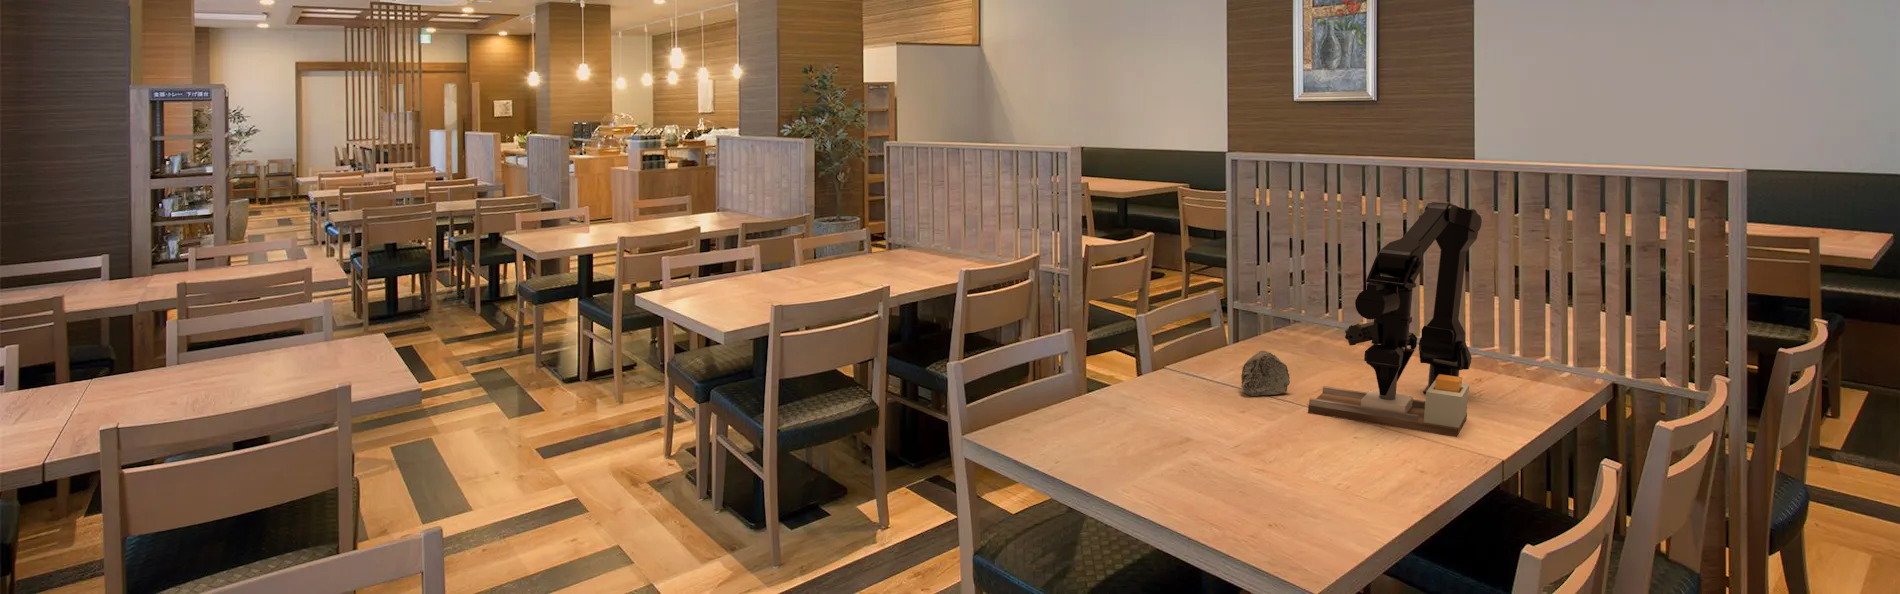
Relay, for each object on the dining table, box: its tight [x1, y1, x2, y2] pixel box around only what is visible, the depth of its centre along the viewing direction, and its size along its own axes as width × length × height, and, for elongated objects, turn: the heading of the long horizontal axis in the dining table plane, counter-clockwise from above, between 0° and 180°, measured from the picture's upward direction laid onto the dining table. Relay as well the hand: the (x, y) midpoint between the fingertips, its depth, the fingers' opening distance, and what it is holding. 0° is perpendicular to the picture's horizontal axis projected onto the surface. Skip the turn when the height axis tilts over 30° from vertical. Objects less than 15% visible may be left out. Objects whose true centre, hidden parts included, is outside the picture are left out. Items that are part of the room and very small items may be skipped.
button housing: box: [1424, 380, 1470, 428], centre depth 186 cm, size 10×6×6 cm, turn 145°
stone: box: [1240, 350, 1291, 397], centre depth 210 cm, size 10×10×10 cm
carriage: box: [1361, 373, 1414, 413], centre depth 192 cm, size 8×8×8 cm
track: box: [1307, 385, 1468, 438], centre depth 193 cm, size 12×27×3 cm, turn 55°
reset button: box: [1435, 374, 1463, 393], centre depth 186 cm, size 4×4×5 cm
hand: (1388, 389), depth 192 cm, fingers open, 9 cm apart
